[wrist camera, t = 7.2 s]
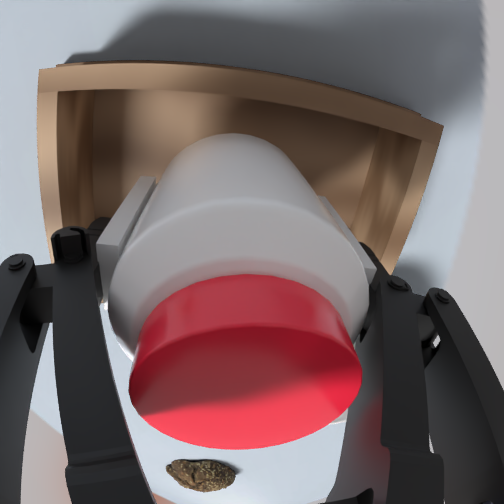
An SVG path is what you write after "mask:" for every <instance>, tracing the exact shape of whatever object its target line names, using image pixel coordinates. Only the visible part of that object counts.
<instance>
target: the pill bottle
mask: <svg viewBox="0 0 504 504" xmlns="http://www.w3.org/2000/svg"><path fill="white" fill-rule="evenodd" d="M368 307H369V284H368V280H367V276H366V273H365V269H364V266H363V263H362V261H361V259H360V257H359V256H358V254H357V253H356V251H355V249H354V248H353V246H352V245H351V243H350V241H349V240H348V238H347V237H346V235H345V234H344V232H343V231H342V229H341V228H340V226H339V225H338V224H337V222H336V221H335V219H334V218H333V216H332V215H331V213H330V212H329V211H328V209H327V208H326V206H325V205H324V203H323V202H322V201H321V199H320V198H319V196H318V195H317V194H316V192H315V191H314V190H313V188H312V187H311V185H310V184H309V183H308V181H307V180H306V179H305V177H304V176H303V174H302V173H301V172H300V170H299V169H298V168H297V166H296V165H295V164H294V162H293V161H292V160H291V159H290V157H288V156H287V155H286V154H285V153H284V152H283V151H282V150H281V149H279V148H278V147H277V146H275V145H273V144H271V143H270V142H268V141H266V140H264V139H261V138H258V137H255V136H252V135H248V134H239V133H226V134H216V135H213V136H209V137H206V138H203V139H200V140H198V141H196V142H194V143H192V144H191V145H189V146H187V147H186V148H184V149H183V150H182V151H181V152H180V153H178V154H177V155H176V156H175V157H174V158H173V159H172V161H171V162H170V163H169V165H168V166H167V167H166V168H165V170H164V172H163V173H162V175H161V177H160V179H159V181H158V182H157V184H156V186H155V188H154V190H153V192H152V193H151V195H150V197H149V199H148V201H147V203H146V205H145V207H144V209H143V211H142V213H141V215H140V217H139V218H138V220H137V222H136V224H135V226H134V228H133V231H132V233H131V235H130V237H129V239H128V241H127V243H126V245H125V247H124V249H123V251H122V254H121V256H120V258H119V260H118V263H117V265H116V268H115V271H114V273H113V276H112V279H111V282H110V285H109V294H108V314H109V319H110V324H111V329H112V331H113V333H114V335H115V337H116V339H117V341H118V344H119V346H120V347H121V348H122V350H123V351H124V352H125V354H126V355H127V356H128V357H129V359H130V360H131V361H132V368H131V373H130V378H129V389H128V391H129V395H130V399H131V402H132V405H133V406H134V408H135V409H136V411H137V412H138V414H139V415H140V416H141V417H142V418H143V419H144V420H145V421H146V422H147V423H148V424H149V425H151V426H152V427H154V428H155V429H157V430H159V431H160V432H162V433H164V434H166V435H168V436H170V437H172V438H175V439H177V440H180V441H183V442H186V443H190V444H193V445H198V446H203V447H208V448H216V449H232V450H239V449H255V448H264V447H270V446H275V445H280V444H283V443H287V442H290V441H294V440H297V439H299V438H302V437H304V436H307V435H309V434H312V433H314V432H316V431H317V430H319V429H321V428H323V427H325V426H327V425H328V424H329V423H331V422H332V421H334V420H335V419H336V418H338V417H339V416H340V415H341V414H342V413H343V412H344V411H345V410H346V409H347V408H348V407H349V406H350V405H351V404H352V402H353V401H354V399H355V398H356V397H357V395H358V393H359V390H360V387H361V384H362V367H361V364H360V361H359V359H358V356H357V354H356V351H355V349H354V346H353V345H354V343H355V342H356V340H357V338H358V336H359V334H360V332H361V330H362V328H363V326H364V323H365V320H366V316H367V312H368Z"/></svg>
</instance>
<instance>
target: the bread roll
mask: <svg viewBox="0 0 504 504" xmlns="http://www.w3.org/2000/svg"><path fill="white" fill-rule="evenodd" d="M171 464H172V465H168V466H166V471H167V473H168V474H169V475H171V476H172V477H173V478H174V479H175V480H176V481H177V482H178V483H179V484H180V485H181V486H183V487H184V488H190V489H193V490H195V491H200V492H210V491H217V490H220V489H222V488H226V487H227V486H229V485H231V484H233V482H234V480H235V477H236V476H235V472H234V471H233V470H232V469H230V468H229V467H228V466H225V465H222V464H220V463H218V462H216V461H211V460H206V461H198V462H189V461H186V460H175V461H173V462H172V463H171Z"/></svg>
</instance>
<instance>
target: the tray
mask: <svg viewBox="0 0 504 504" xmlns="http://www.w3.org/2000/svg"><path fill="white" fill-rule="evenodd" d="M443 128H444V126H443V125H440V124H438V123H436V122H433V121H431V120H428V119H426V118H423V117H421V114H420V113H417V112H414V111H412V110H409V109H406V108H404V107H401V106H398V105H395V104H392V103H389V102H386V101H383V100H380V99H377V98H374V97H371V96H368V95H364V94H361V93H358V92H354V91H351V90H347V89H344V88H340V87H336V86H332V85H328V84H324V83H320V82H316V81H312V80H307V79H303V78H298V77H293V76H288V75H283V74H278V73H272V72H266V71H260V70H254V69H247V68H240V67H233V66H225V65H216V64H205V63H193V62H178V61H154V60H117V61H93V62H79V63H67V64H58V65H56V68H47V69H39V77H38V95H37V149H38V168H39V181H40V191H41V200H42V209H43V216H44V223H45V230H46V236H47V242H48V248H49V253H50V258H51V263H54V256H53V250H52V245H51V239H50V238H51V236H52V234H53V233H54V232H55V231H57V230H59V229H61V228H64V227H68V226H80V227H84V228H85V229H87V228H88V227H89V225H90V224H91V223H92V222H93V221H94V220H96V219H98V218H99V217H109V218H112V217H113V216H114V214H115V213H116V211H117V210H118V208H119V207H120V205H121V204H122V202H123V201H124V199H125V198H126V196H127V195H128V194H129V192H130V191H131V189H132V188H133V186H134V185H135V184H136V182H137V181H138V179H139V178H140V177H141V176H151V177H156V184H157V182H158V181H159V179H160V177H161V175H162V173H163V172H164V170H165V168H166V167H167V166H168V165H169V163H170V162H171V161H172V159H173V158H174V157H175V156H176V155H177V154H178V153H180V152H181V151H182V150H183V149H184V148H186V147H187V146H189V145H191V144H192V143H194V142H196V141H198V140H200V139H203V138H206V137H209V136H213V135H216V134H226V133H239V134H248V135H252V136H255V137H258V138H261V139H264V140H266V141H268V142H270V143H271V144H273V145H275V146H277V147H278V148H279V149H281V150H282V151H283V152H284V153H285V154H286V155H287V156H288V157H290V159H291V160H292V161H293V162H294V164H295V165H296V166H297V168H298V169H299V170H300V172H301V173H302V174H303V176H304V177H305V179H306V180H307V181H308V183H309V184H310V185H311V187H312V188H313V190H314V191H315V192H316V194H317V195H318V196H325V197H326V199H327V200H328V201H329V202H330V204H331V205H332V206H333V208H334V209H335V210H336V212H337V213H338V215H339V216H340V217H341V219H342V220H343V221H344V223H345V224H346V225H347V227H348V228H349V230H350V231H351V232H352V234H353V235H354V237H355V238H356V239H357V241H358V242H363V243H364V244H366V245H367V246H368V247H369V248H371V250H372V251H373V252H374V254H375V256H376V257H377V258H378V259H379V262H381V264H382V265H383V266H384V268H385V269H386V271H387V272H388V273H389V275H391V274H392V272H393V270H394V268H395V265H396V263H397V261H398V258H399V256H400V254H401V251H402V249H403V246H404V244H405V241H406V239H407V236H408V234H409V231H410V229H411V226H412V224H413V221H414V218H415V216H416V213H417V210H418V207H419V205H420V202H421V199H422V196H423V193H424V190H425V187H426V184H427V181H428V178H429V175H430V172H431V169H432V166H433V163H434V159H435V156H436V153H437V149H438V146H439V142H440V139H441V135H442V131H443ZM101 303H103V299H102V301H101Z"/></svg>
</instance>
